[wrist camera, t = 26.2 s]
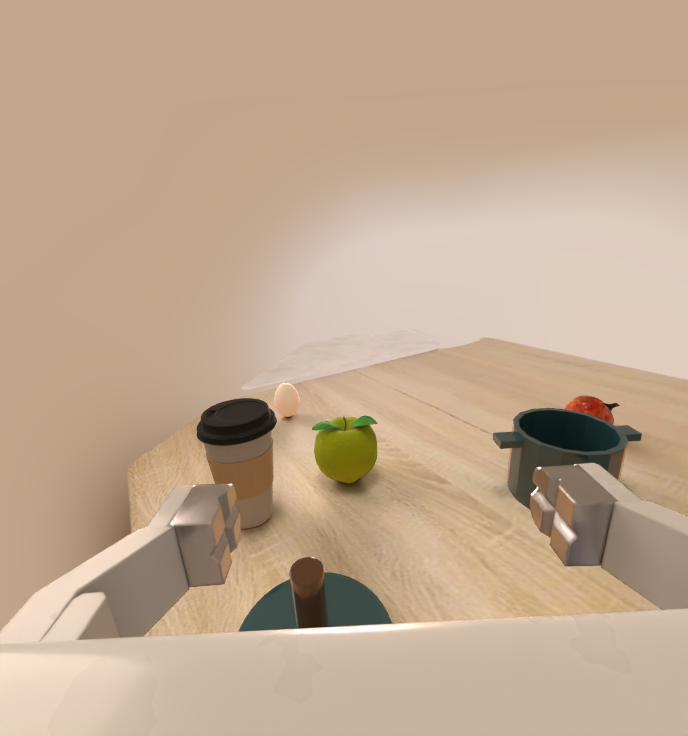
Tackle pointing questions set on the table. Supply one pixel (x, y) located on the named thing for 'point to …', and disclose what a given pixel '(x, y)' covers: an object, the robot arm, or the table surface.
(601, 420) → the pot
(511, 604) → the table surface
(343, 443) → the fruit
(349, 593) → the lid
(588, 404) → the pomegranate
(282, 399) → the egg
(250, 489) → the coffee cup
